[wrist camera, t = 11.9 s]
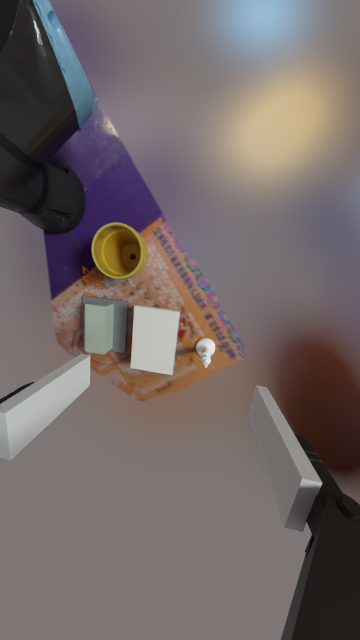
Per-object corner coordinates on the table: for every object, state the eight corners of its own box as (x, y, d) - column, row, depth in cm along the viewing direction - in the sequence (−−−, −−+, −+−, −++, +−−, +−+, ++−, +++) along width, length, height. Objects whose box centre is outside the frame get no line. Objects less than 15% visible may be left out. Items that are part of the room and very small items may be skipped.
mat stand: (84, 295, 48) (70, 297, 44) (128, 301, 47) (119, 304, 43) (84, 345, 52) (72, 352, 47) (125, 352, 51) (117, 360, 46)
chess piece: (214, 337, 47) (217, 353, 37) (215, 355, 48) (218, 375, 38) (195, 338, 47) (192, 354, 38) (196, 356, 48) (194, 376, 39)
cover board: (136, 304, 42) (134, 305, 41) (180, 310, 41) (179, 311, 40) (132, 365, 46) (130, 368, 44) (173, 371, 45) (172, 375, 43)
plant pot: (142, 287, 46) (126, 289, 37) (107, 263, 46) (82, 260, 36) (163, 249, 44) (152, 241, 34) (126, 224, 43) (105, 209, 34)
